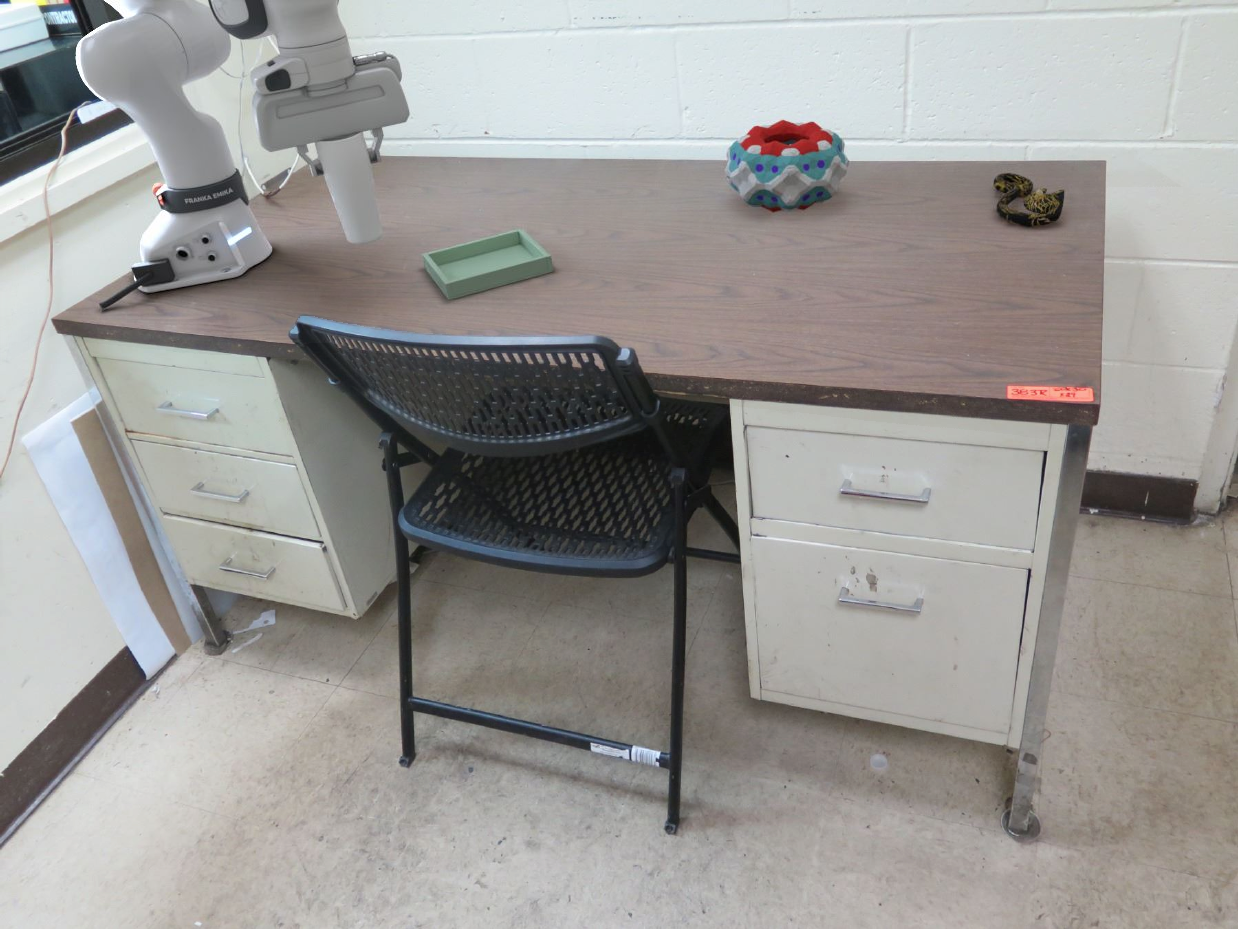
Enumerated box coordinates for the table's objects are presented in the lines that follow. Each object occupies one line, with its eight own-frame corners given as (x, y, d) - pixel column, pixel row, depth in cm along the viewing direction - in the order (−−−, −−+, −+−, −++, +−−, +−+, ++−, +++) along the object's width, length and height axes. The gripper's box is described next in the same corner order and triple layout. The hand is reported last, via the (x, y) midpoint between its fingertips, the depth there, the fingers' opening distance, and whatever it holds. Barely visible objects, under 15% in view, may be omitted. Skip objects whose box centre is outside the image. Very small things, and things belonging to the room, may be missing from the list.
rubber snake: (998, 153, 156) (1066, 159, 154) (993, 181, 159) (1059, 187, 156) (991, 198, 143) (1065, 205, 140) (985, 228, 146) (1057, 235, 143)
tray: (448, 300, 145) (445, 283, 143) (425, 269, 155) (421, 253, 154) (553, 271, 149) (551, 255, 148) (524, 243, 160) (521, 228, 158)
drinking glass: (358, 228, 146) (330, 126, 137) (397, 230, 143) (372, 126, 135) (332, 247, 140) (302, 141, 132) (373, 248, 138) (345, 141, 130)
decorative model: (810, 80, 163) (845, 109, 146) (839, 157, 170) (876, 194, 154) (705, 136, 166) (728, 171, 149) (738, 210, 174) (763, 251, 157)
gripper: (390, 44, 134) (413, 146, 141) (237, 74, 128) (270, 179, 136) (401, 51, 129) (424, 156, 137) (243, 83, 123) (276, 191, 131)
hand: (346, 168), depth 136 cm, fingers closed on drinking glass, 7 cm apart
